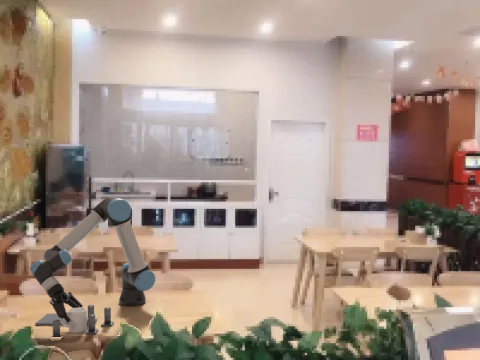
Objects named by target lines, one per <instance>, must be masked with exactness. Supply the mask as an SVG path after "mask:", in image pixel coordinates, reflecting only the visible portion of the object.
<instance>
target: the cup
mask: <svg viewBox="0 0 480 360" xmlns="http://www.w3.org/2000/svg"><path fill="white" fill-rule="evenodd" d="M66 313H67V314H69V315H70V316H71V318H72V319H73V320H74V322H75V323H76V324H77V325H76V326H75V327H74V328H72V327H71V326H70V325H66V324H64V321H63V319H64V318H63V319H61V323H62V325H61V326H63V327H64V328H67V329H68V331H69V333H71V334H81V333H85V332H86V331H87V330H88V329H87V328H88V327H87V326H88V324H87V318H88V312H87V308H86V307H83V306H82V307H79V308H72V307H71V308H70V309H69V310H68V312H66Z"/></svg>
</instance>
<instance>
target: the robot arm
mask: <svg viewBox="0 0 480 360" xmlns="http://www.w3.org/2000/svg"><path fill="white" fill-rule="evenodd" d="M131 214H132V207H131V205H130V203H129V202H128V201H127V200H125V199H123V198H119V197H114V196H113V197H112V196H109V197H106V198H103V200H101V201H100V202H99V203H98V204H96V205H95V207H93V208H91V210H90V213H89V214H88V215H87V216H86V217H85V218H84V219H82V221H80V222H79V223H78V224H77V225H76V226H75V227H73V229H71V230H70V231H68V233H67V234H66V235H64V237H63V238H62V239H61V240H59V241H58V242H57V243H56V244H55V245H53V246H52V247H51V248H47V249H46V250H45V251H44V253H43V259H44V260H41V259H39V260H37V261H35V262H33V263H32V264H31V265H30V266H29V271H30V273H31V274H32V275H33V277H34V278H35V280H36V281H37V282H38V284H39V285H40V286H41V287H42V288H43V290H44V291H45V293H46V294H47V295H48V297H49V298H50V300H49V304H50V305H51V306H52V307H53V310H54V311H55V314H57V315H58V317H59V318H61V319H63V318H64V319H65V320H66V322H68V323H69V325H70V326H71V327H72V328H74V327H75V326H76V325H77V324H76V323H75V322H74V320H73V319H72V318H71V316H70V315H69V314H67V313H68V312H67V310H66V307H65V305H68V306H69V307H71V309H72V308H79V307H82V308H83V304H82V303H81V302H80V301H79V300H78V298H76V297H75V296H74V295H73V293H72V292H71V291H69V292H67V293H66V292H65V288H64V287H63V285H62V284H61V283H60V281H59V280H58V279H57V277H56V276H55V275H54V274H55V273H57V272H59V271H60V270H62V269H63V268H65V267H66V266H68V265H69V264H70V263H71V262H72V261H73V258H72V255H71V253H69V252H70V251H71V250H73V249H74V248H75V247H76V246H77V245H78V244H80V242H82V240H83V239H85V238H86V237H87V236H88V235H89V234H90V233H91V232H92V231H93V230H95V229H96V228H97V227H98V226H99V225H100V224H103V223H105V222H106V221H109V224H110V227H113V228H114V230H115V232H116V234H117V237H118V240H119V243H120V245H121V249H122V251H123V253H124V257H125V259H126V263H123V264H122V266H121V293H120V294H119V298H118V303H119V304H120V305H121V306H126V307H127V306H128V307H129V306H131V307H132V306H140V305H144V304H145V303H146V295H145V292H146V291H150V290H151V288H153V287H154V285H155V283H156V275H155V273H154V272H153V271H152V270H151V268H150V267H149V263H148V262H147V261H145V260H144V257H143V254H142V252H141V249H140V246H139V243H138V240H137V238H136V236H135V232H134V229H133V227H132V224H131V222H132V218H133V217H132V215H131ZM87 320H88V317H87Z"/></svg>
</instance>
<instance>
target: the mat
mask: <svg viewBox="0 0 480 360" xmlns="http://www.w3.org/2000/svg"><path fill="white" fill-rule="evenodd" d="M54 320H60V326H63V325H62V323H61V318H59V317H58V315H57V313H45V315H43V317H41V318H40V319H39V320H37V321H36V322H35V323H34V325H35V326H53V321H54ZM63 321H64V324H66V325H69V323H68V322H66V320H65V319H63Z"/></svg>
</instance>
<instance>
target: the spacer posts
mask: <svg viewBox="0 0 480 360" xmlns="http://www.w3.org/2000/svg"><path fill="white" fill-rule="evenodd" d="M111 309H112V308H111V307H109V306H107V307H104V309H103V311H104V312H103V314H104V315H103V317H104V318H103V320H104V321H103V322H102V323H101V328H102V327H105V328H106V327H107V328H108V327H112V326H113V325H114V324H115V321H113V320H112V310H111ZM87 318H88V320H87V326H88V327H87V328H88V329H86V331H84V335H97V334H98V332H99V328H96V323H97V322H98V318H96V314H95V305H94V304H88V305H87ZM62 336H64V337H65V335H63V334H61V325H60V320H54V321H53V325H52V336H51V337H62Z"/></svg>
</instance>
